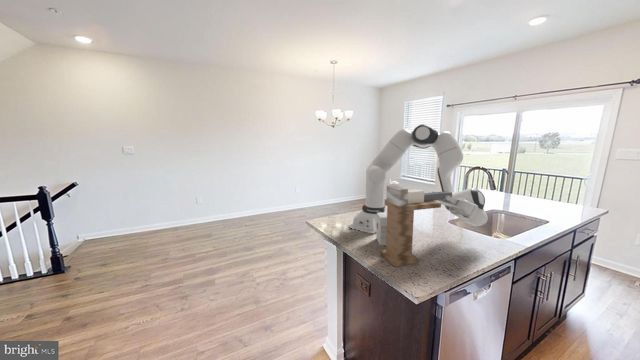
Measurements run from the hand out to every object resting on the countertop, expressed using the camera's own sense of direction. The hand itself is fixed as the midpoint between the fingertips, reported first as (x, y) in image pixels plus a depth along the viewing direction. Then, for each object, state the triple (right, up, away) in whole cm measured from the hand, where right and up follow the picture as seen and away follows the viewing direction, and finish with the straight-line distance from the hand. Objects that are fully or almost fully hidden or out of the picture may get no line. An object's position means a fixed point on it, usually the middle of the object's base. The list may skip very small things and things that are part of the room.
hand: (439, 194), depth 111 cm
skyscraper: (-6, -21, +52) cm, 56 cm away
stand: (-14, -29, 0) cm, 32 cm away
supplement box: (-20, -26, +17) cm, 37 cm away
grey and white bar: (-6, -2, -1) cm, 7 cm away
